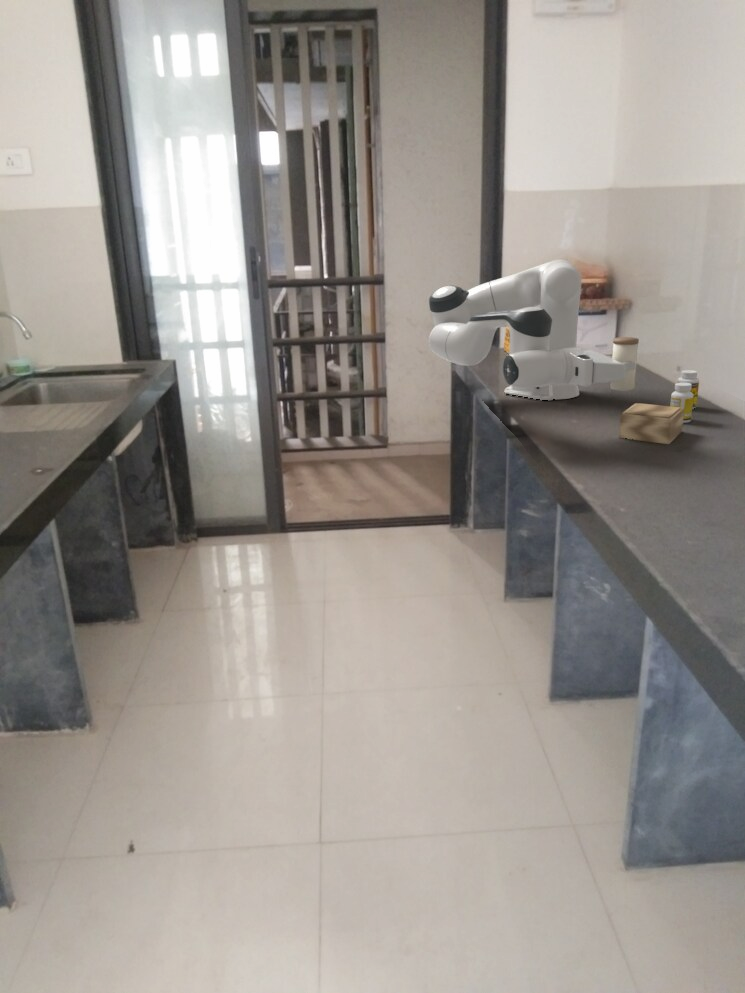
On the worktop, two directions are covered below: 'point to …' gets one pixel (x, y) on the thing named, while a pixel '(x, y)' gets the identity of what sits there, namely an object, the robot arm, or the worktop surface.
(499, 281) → the robot arm
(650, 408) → the oak block
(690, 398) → the supplement bottle
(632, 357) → the cream tin
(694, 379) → the supplement bottle
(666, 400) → the worktop surface
